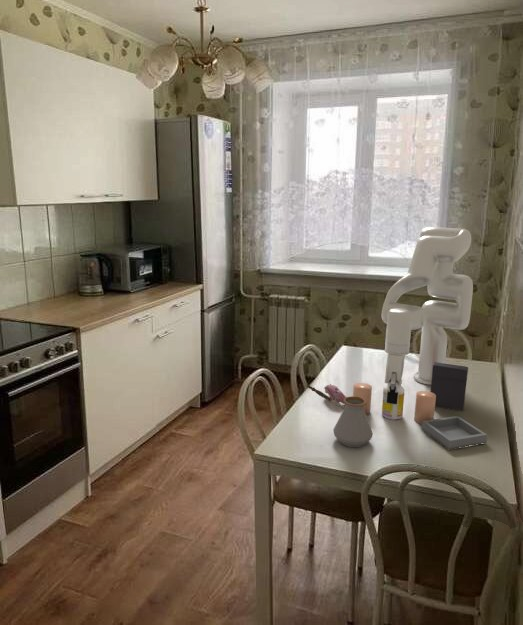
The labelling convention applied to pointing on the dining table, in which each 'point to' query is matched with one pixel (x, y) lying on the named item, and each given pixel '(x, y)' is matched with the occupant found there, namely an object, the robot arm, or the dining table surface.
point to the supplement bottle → (393, 409)
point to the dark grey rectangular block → (449, 385)
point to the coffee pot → (350, 421)
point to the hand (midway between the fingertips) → (392, 397)
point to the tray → (454, 432)
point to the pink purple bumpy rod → (335, 393)
